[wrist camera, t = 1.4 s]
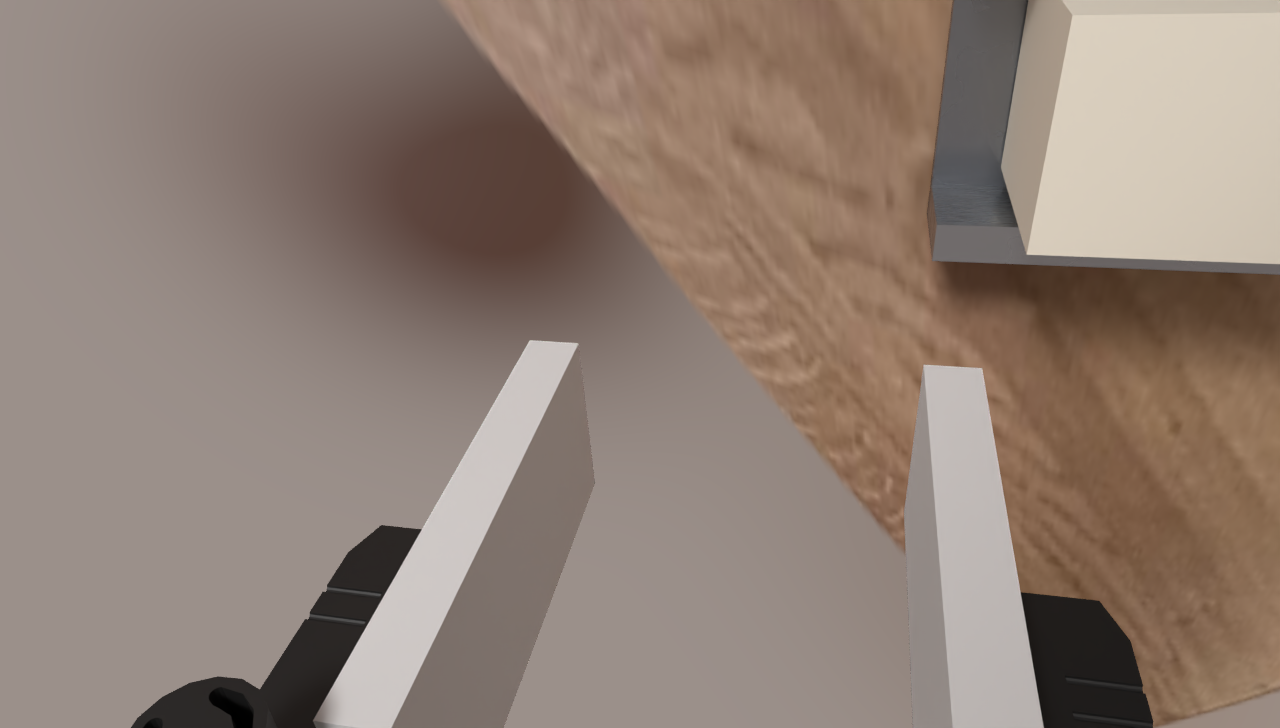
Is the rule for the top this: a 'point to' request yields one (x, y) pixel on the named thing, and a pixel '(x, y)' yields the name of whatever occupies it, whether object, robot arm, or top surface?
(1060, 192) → the block
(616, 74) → the top surface
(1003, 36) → the chute
